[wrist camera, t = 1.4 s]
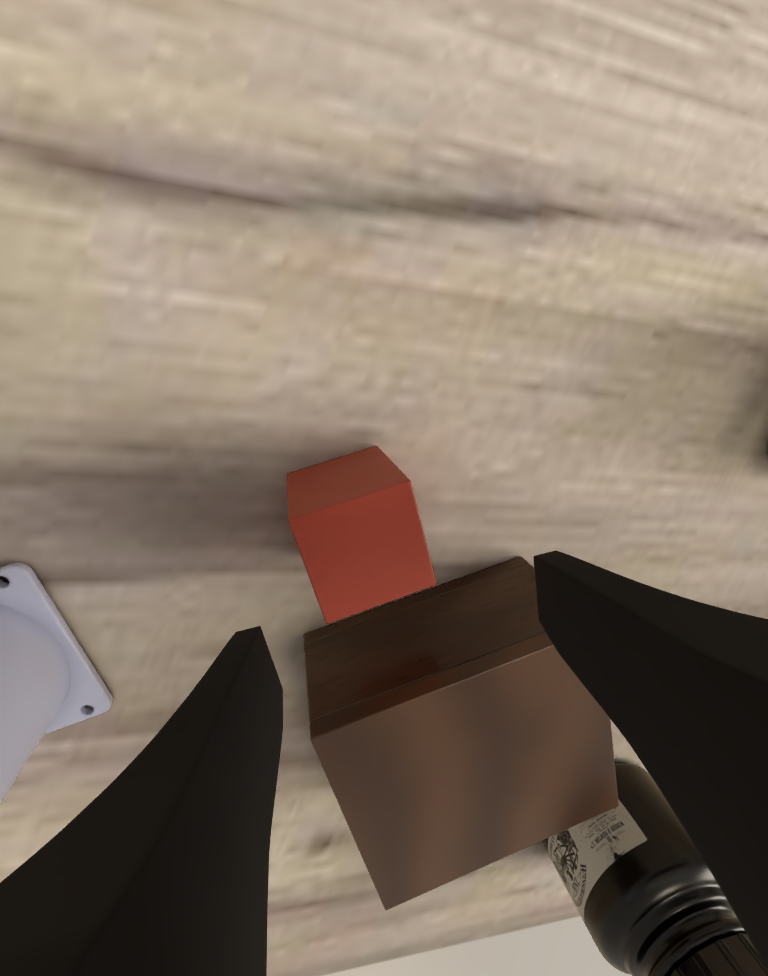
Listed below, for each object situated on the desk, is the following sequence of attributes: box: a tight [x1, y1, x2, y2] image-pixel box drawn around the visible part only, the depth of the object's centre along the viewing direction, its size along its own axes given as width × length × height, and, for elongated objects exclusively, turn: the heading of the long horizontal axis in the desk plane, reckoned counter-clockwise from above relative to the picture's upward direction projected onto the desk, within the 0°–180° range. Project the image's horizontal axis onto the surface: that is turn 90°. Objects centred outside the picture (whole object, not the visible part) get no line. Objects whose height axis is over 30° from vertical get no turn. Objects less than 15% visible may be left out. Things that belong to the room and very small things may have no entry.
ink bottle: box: [543, 763, 768, 976], centre depth 25 cm, size 10×9×12 cm
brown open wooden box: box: [303, 557, 619, 910], centre depth 21 cm, size 12×11×6 cm
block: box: [287, 446, 436, 624], centre depth 18 cm, size 4×4×6 cm
